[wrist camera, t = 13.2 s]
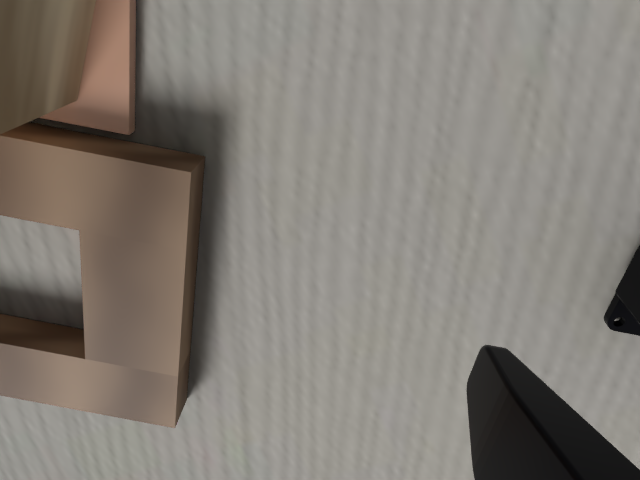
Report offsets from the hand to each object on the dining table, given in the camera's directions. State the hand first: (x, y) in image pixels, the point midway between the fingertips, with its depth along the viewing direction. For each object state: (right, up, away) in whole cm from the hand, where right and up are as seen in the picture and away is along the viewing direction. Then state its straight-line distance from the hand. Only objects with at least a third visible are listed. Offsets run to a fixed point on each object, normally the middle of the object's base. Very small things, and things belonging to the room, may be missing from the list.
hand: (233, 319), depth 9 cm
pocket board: (-12, 0, +16) cm, 20 cm away
